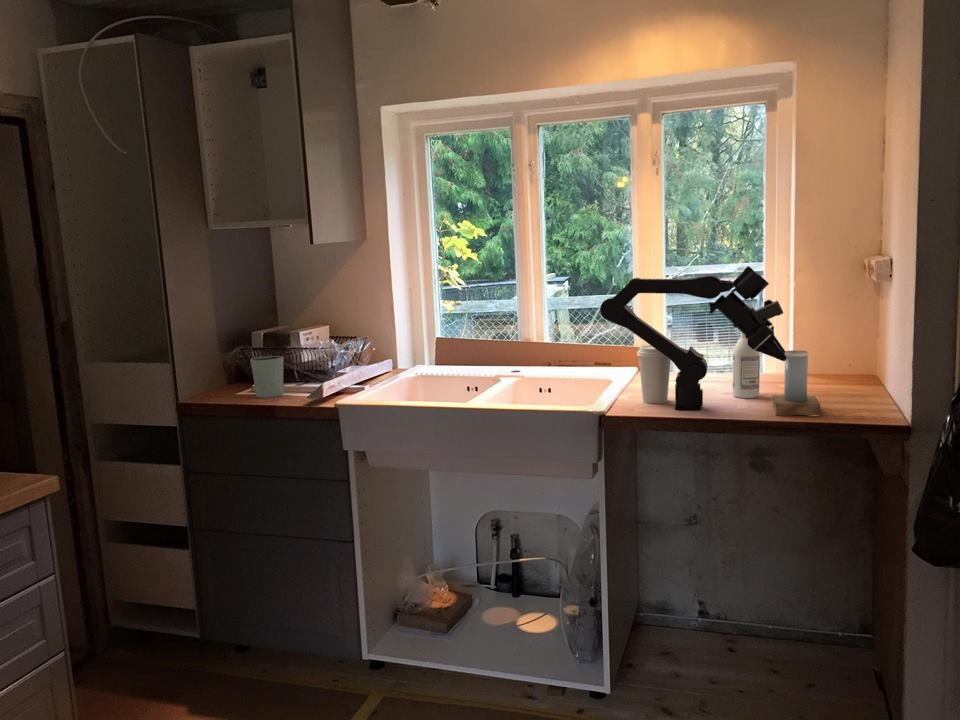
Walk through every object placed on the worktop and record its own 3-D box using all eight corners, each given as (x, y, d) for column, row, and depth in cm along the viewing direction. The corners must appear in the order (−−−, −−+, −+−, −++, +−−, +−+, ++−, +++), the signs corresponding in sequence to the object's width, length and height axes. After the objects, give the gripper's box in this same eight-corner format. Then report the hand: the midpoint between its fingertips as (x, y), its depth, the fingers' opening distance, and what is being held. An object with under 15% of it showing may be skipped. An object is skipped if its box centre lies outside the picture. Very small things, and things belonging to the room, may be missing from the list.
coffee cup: (666, 405, 205) (666, 350, 203) (632, 403, 210) (631, 348, 208) (677, 398, 213) (677, 345, 211) (644, 396, 218) (643, 343, 216)
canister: (784, 401, 190) (785, 353, 188) (783, 397, 195) (784, 350, 193) (808, 402, 188) (809, 353, 187) (806, 397, 193) (807, 350, 192)
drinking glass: (249, 398, 241) (245, 360, 239) (259, 392, 251) (256, 356, 249) (281, 397, 241) (278, 359, 239) (290, 391, 251) (287, 354, 249)
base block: (775, 415, 189) (776, 403, 188) (772, 406, 198) (772, 395, 198) (820, 416, 186) (820, 404, 186) (814, 407, 195) (815, 395, 195)
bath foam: (764, 396, 211) (765, 323, 208) (746, 399, 208) (747, 326, 205) (744, 392, 217) (745, 322, 214) (727, 396, 214) (727, 324, 211)
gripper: (762, 293, 182) (812, 339, 180) (763, 287, 200) (808, 329, 197) (727, 326, 186) (775, 372, 184) (731, 317, 204) (775, 359, 201)
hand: (785, 356), depth 192 cm, fingers open, 9 cm apart
